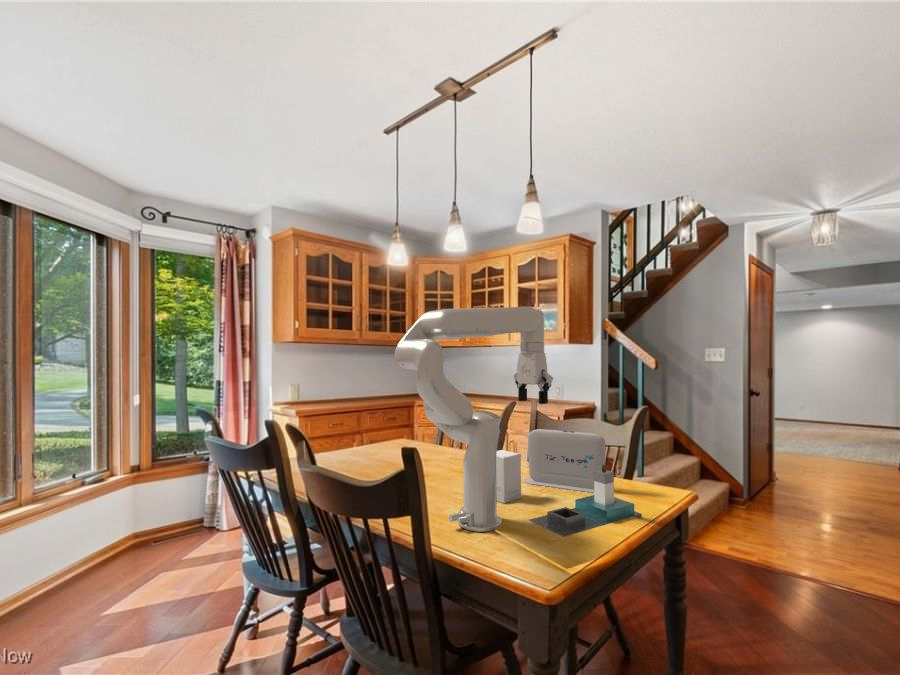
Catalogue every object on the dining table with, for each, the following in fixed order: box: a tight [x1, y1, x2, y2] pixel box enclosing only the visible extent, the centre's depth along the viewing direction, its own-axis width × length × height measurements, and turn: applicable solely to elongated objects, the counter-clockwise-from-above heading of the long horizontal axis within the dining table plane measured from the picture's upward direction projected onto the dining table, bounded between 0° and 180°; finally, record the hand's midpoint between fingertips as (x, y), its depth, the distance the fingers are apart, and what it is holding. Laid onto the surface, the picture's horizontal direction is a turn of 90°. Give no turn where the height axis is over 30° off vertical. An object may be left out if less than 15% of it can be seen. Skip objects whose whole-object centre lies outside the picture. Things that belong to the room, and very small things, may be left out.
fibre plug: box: [593, 464, 615, 506], centre depth 138 cm, size 4×4×14 cm
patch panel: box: [528, 494, 643, 537], centre depth 134 cm, size 32×14×4 cm, turn 121°
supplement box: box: [496, 449, 522, 504], centre depth 154 cm, size 9×9×15 cm
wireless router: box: [523, 428, 606, 494], centre depth 168 cm, size 31×10×20 cm, turn 62°
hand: (532, 402), depth 145 cm, fingers open, 9 cm apart
